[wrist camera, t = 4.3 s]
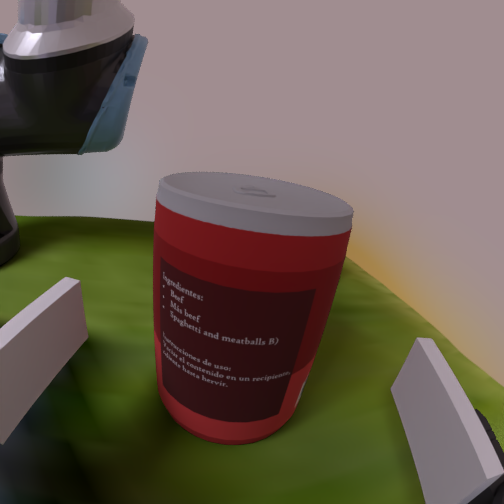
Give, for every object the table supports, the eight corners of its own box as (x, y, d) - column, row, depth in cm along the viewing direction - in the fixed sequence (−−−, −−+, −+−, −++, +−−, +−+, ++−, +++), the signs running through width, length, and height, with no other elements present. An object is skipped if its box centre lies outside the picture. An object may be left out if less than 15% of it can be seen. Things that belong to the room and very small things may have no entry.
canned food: (254, 339, 21) (283, 177, 17) (323, 421, 14) (398, 219, 10) (143, 356, 17) (143, 168, 13) (184, 467, 10) (190, 212, 7)
